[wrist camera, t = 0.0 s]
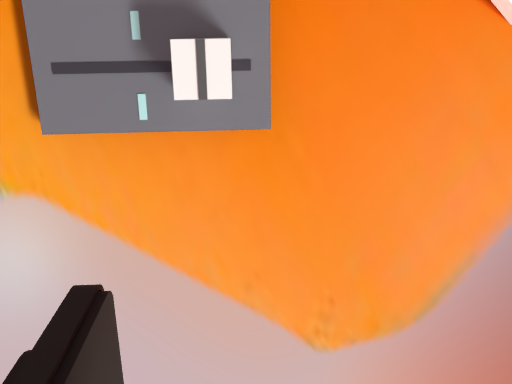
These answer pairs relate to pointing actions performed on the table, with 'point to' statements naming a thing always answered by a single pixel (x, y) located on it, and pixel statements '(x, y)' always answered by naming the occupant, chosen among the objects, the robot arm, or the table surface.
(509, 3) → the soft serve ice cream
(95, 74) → the console
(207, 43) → the fader
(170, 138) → the table surface
